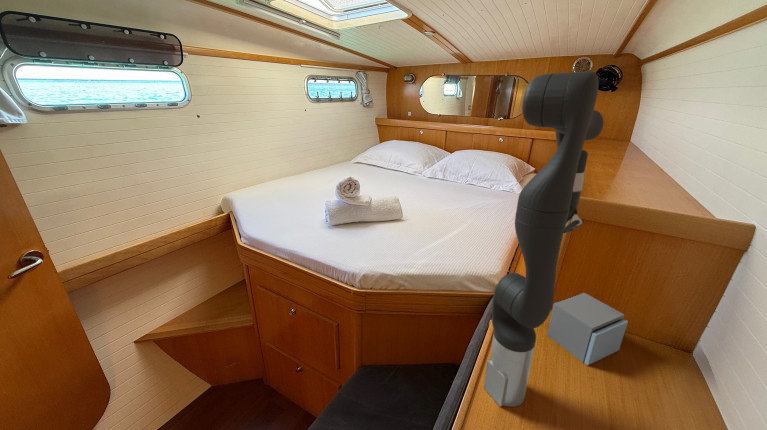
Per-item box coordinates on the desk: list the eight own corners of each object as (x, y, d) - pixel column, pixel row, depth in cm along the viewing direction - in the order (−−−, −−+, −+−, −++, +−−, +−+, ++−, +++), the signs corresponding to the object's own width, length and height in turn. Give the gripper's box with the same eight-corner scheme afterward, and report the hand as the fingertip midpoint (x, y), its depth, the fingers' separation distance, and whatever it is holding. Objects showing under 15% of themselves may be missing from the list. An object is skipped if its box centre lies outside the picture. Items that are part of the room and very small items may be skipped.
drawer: (587, 365, 84) (595, 335, 81) (551, 338, 95) (557, 310, 91) (618, 350, 89) (628, 321, 86) (581, 325, 100) (588, 298, 96)
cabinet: (582, 362, 86) (592, 328, 81) (546, 335, 96) (553, 303, 92) (614, 347, 91) (624, 314, 86) (576, 323, 101) (584, 292, 97)
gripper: (599, 190, 79) (585, 249, 85) (554, 180, 90) (545, 232, 96) (579, 194, 76) (566, 254, 82) (536, 183, 88) (528, 236, 94)
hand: (555, 242), depth 89 cm, fingers closed
